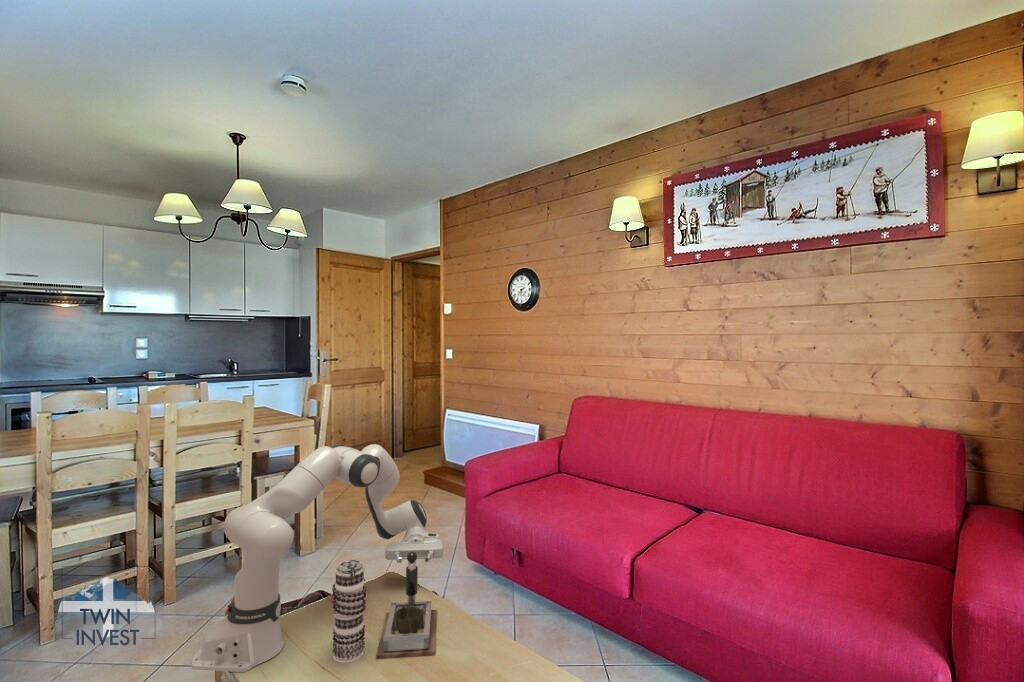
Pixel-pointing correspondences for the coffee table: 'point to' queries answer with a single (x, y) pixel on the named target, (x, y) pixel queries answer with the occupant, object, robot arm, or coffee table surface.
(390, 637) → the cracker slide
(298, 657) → the coffee table surface
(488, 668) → the coffee table surface
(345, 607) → the decorative candle
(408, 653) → the base
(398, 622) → the cup
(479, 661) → the coffee table surface
